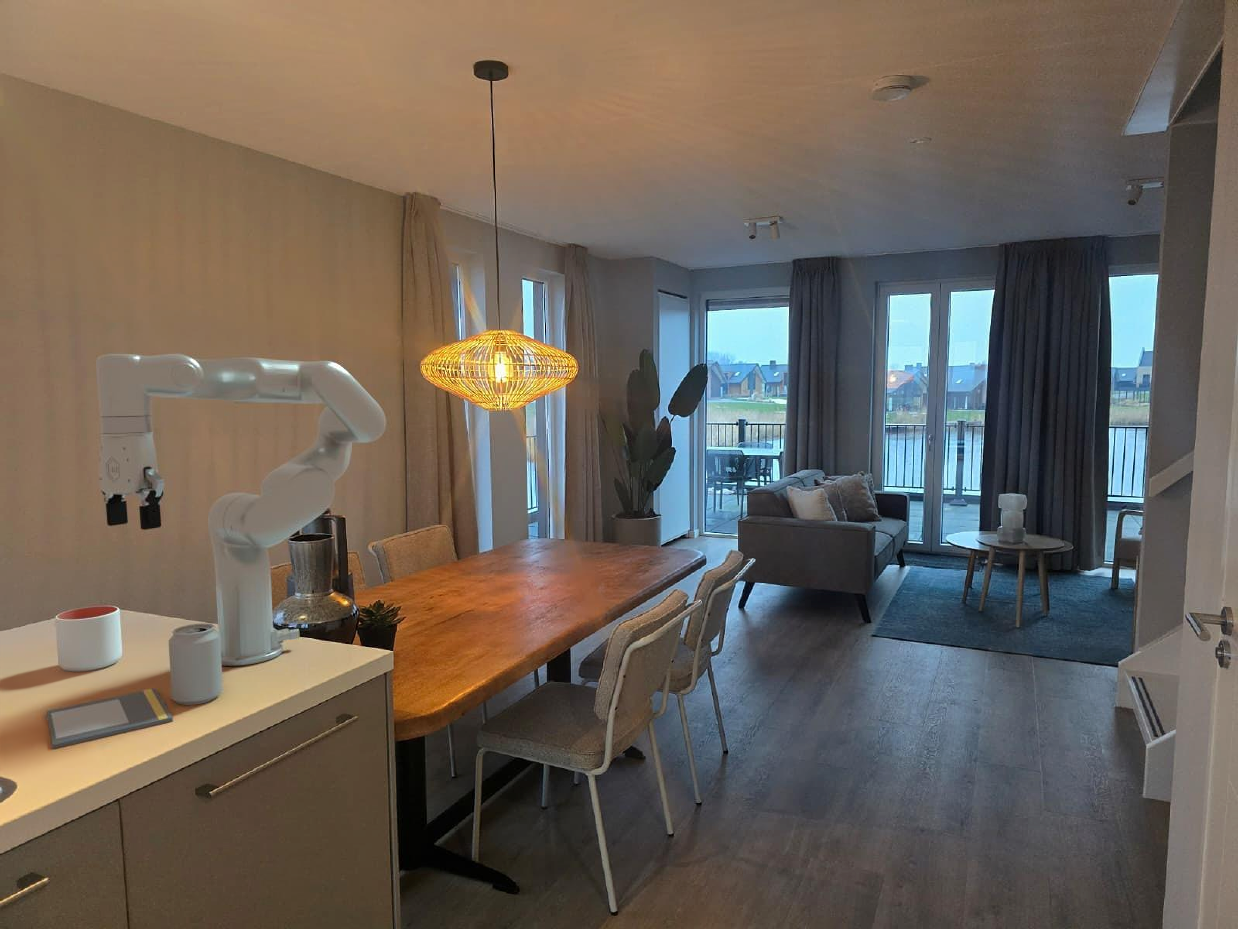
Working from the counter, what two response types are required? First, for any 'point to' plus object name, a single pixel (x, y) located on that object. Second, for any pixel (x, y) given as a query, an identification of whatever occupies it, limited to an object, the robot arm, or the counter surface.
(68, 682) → the counter surface
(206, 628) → the can
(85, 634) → the cup
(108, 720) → the mat
